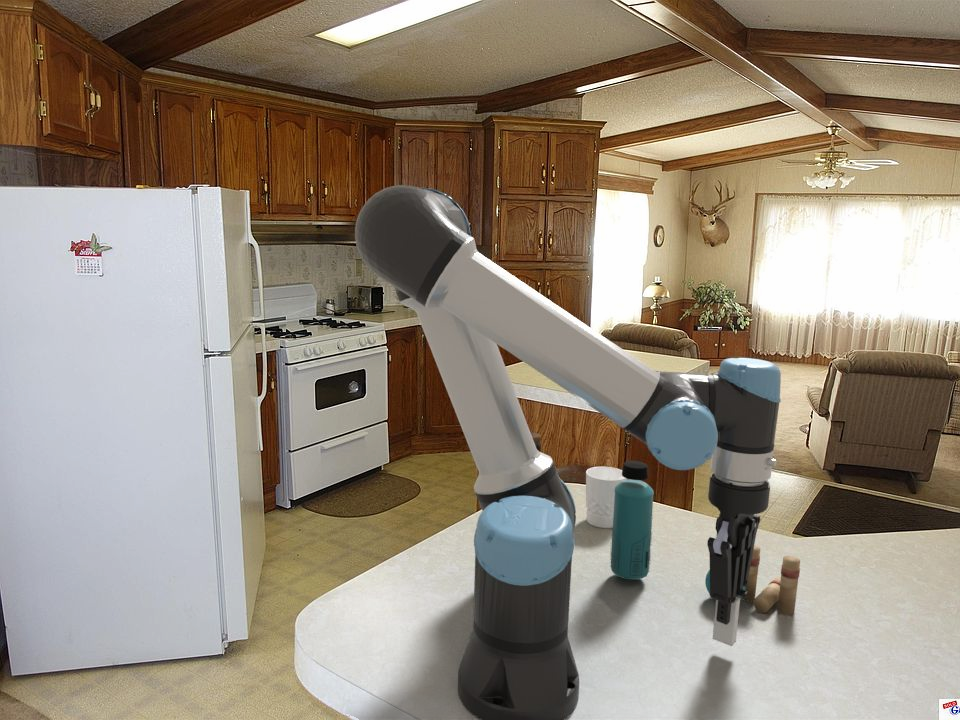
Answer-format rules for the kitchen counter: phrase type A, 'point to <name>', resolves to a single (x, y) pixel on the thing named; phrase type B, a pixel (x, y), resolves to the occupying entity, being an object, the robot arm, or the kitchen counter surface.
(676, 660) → the kitchen counter surface
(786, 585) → the pin back right
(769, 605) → the pin front
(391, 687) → the kitchen counter surface
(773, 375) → the robot arm
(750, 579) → the pin back left
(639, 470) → the beverage bottle
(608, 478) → the white cup
